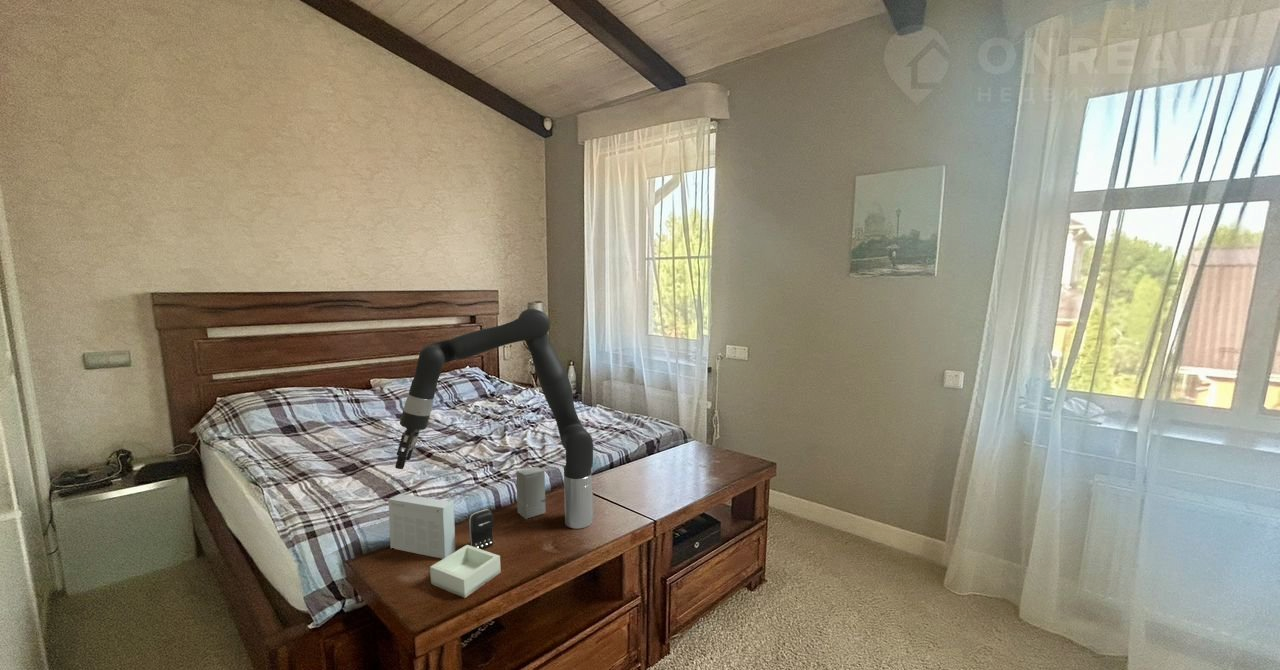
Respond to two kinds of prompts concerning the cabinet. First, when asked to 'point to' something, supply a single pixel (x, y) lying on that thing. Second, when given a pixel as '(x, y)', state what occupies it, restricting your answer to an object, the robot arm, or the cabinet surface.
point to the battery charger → (481, 529)
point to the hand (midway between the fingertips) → (402, 463)
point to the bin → (465, 570)
